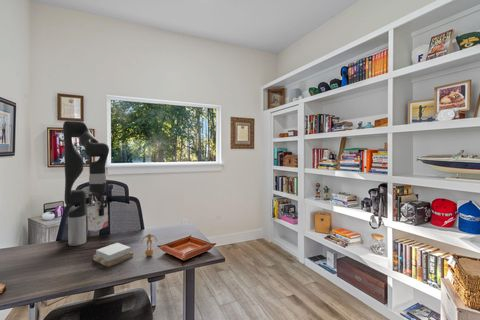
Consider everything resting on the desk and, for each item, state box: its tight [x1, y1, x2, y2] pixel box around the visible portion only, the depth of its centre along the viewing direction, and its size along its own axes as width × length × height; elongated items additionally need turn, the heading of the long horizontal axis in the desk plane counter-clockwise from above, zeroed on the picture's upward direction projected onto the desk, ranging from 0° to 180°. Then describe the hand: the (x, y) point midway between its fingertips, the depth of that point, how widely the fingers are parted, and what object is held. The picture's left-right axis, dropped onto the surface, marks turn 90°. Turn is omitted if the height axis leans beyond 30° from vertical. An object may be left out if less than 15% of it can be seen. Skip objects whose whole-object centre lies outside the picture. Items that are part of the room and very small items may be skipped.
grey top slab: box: [95, 242, 132, 261], centre depth 133 cm, size 12×12×3 cm
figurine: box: [140, 233, 158, 257], centre depth 138 cm, size 8×6×12 cm
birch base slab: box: [92, 251, 134, 267], centre depth 134 cm, size 14×14×3 cm
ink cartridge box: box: [86, 202, 109, 232], centre depth 127 cm, size 9×5×15 cm, turn 167°
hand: (98, 214), depth 127 cm, fingers closed on ink cartridge box, 6 cm apart
